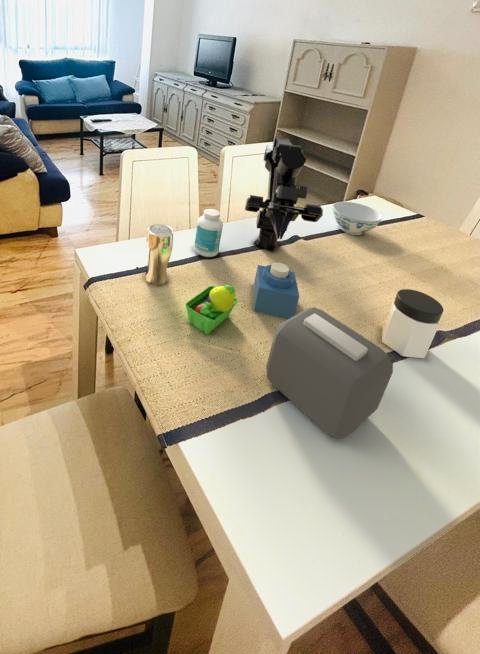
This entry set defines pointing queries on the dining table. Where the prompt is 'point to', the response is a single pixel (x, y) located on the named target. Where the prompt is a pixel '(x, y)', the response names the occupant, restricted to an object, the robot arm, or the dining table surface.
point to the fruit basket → (211, 307)
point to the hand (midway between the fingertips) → (279, 238)
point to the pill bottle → (208, 233)
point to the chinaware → (355, 217)
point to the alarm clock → (328, 370)
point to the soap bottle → (275, 293)
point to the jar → (412, 323)
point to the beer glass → (158, 253)
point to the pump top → (279, 270)
